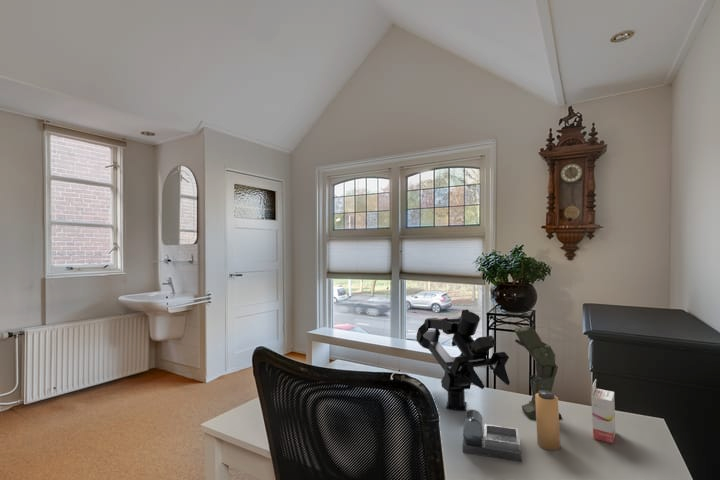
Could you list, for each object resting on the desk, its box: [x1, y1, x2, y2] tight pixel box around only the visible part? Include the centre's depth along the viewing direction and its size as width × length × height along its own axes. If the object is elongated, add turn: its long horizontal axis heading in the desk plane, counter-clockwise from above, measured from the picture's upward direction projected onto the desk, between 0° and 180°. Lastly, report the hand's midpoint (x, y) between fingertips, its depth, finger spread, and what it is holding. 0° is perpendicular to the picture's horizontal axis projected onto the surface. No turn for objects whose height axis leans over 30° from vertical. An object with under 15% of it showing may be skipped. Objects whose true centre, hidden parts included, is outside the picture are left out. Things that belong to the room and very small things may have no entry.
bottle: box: [535, 390, 561, 451], centre depth 98 cm, size 6×6×14 cm
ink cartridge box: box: [591, 378, 617, 444], centre depth 102 cm, size 9×5×15 cm, turn 141°
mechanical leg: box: [513, 325, 563, 420], centre depth 116 cm, size 14×7×30 cm, turn 85°
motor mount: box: [462, 409, 522, 463], centre depth 98 cm, size 12×14×7 cm
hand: (496, 385), depth 103 cm, fingers open, 9 cm apart
